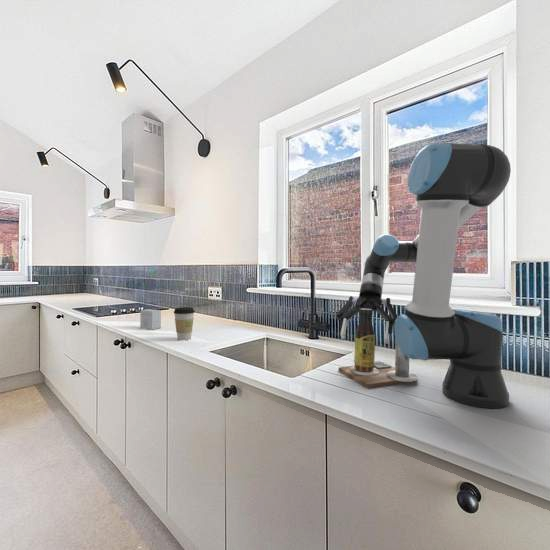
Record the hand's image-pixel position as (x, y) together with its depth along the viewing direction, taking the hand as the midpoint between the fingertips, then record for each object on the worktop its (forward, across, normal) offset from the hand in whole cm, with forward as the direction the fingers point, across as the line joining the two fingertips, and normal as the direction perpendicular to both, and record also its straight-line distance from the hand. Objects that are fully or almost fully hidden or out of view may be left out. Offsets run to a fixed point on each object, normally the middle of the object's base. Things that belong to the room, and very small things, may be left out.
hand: (363, 339), depth 98 cm
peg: (+6, -11, -9) cm, 16 cm away
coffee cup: (-2, +88, -19) cm, 90 cm away
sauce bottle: (+6, 0, -9) cm, 11 cm away
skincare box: (-11, +124, -28) cm, 128 cm away
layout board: (+7, -5, -10) cm, 13 cm away
